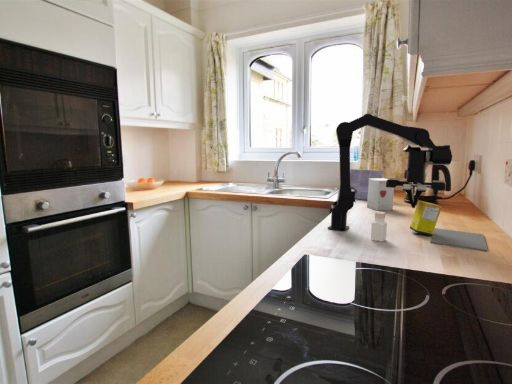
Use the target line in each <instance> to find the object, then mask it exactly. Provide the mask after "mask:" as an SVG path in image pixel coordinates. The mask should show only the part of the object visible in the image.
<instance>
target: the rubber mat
mask: <svg viewBox="0 0 512 384" xmlns="http://www.w3.org/2000/svg"><path fill="white" fill-rule="evenodd" d="M430 244H434V245H435V244H436V245H441V246H448V247H455V248H462V249H468V250H476V251H481V252H488V248H487V243H486V240H485V235H484V233H475V232H469V231H467V232H466V231H460V230H452V229H447V228H445V229H444V228H437V227H435V229H434V232H433V235H432V236H431V239H430Z"/></svg>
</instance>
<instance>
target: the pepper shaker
mask: <svg viewBox="0 0 512 384" xmlns="http://www.w3.org/2000/svg"><path fill="white" fill-rule="evenodd" d="M385 218H386V212H385V211H384V212H383V211H375V212H374V220H373V221H372V222H371V226H370V227H371V230H370V231H371V233H370V240H372V241H375V242H380V243H382V242H384V241H386V240H387V229H388V222H386V221H385Z"/></svg>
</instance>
